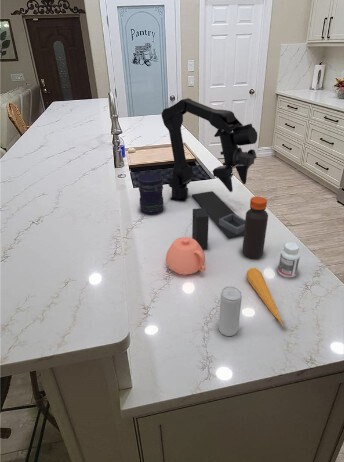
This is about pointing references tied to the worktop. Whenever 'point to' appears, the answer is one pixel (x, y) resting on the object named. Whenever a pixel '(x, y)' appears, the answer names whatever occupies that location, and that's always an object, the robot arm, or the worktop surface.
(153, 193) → the storage jar
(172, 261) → the pink dome with handle
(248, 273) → the carrot
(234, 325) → the beverage can
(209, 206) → the base pad
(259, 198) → the vinegar
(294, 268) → the pill bottle
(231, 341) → the worktop surface
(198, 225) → the pad block
